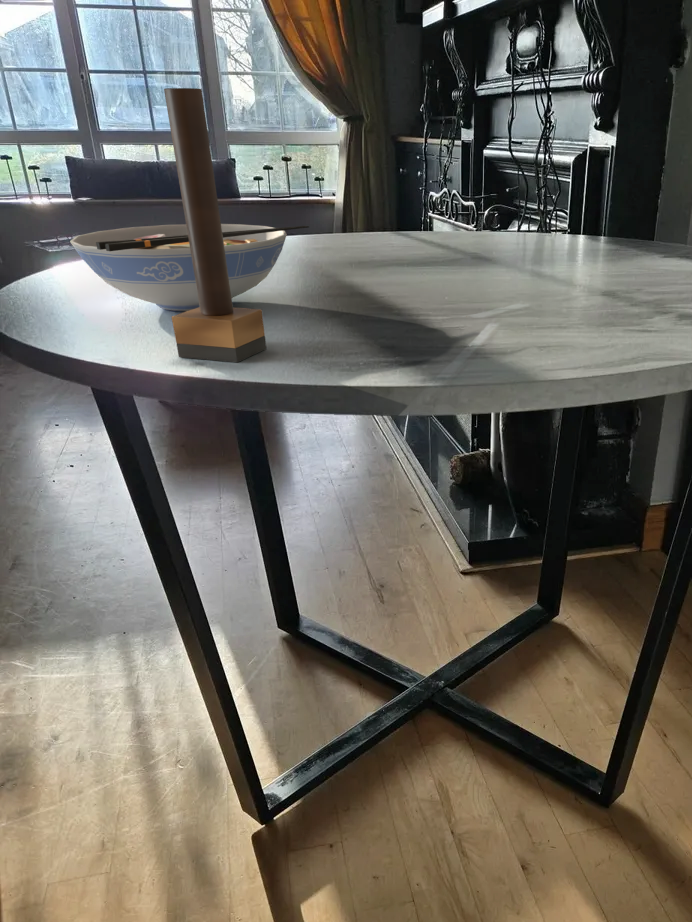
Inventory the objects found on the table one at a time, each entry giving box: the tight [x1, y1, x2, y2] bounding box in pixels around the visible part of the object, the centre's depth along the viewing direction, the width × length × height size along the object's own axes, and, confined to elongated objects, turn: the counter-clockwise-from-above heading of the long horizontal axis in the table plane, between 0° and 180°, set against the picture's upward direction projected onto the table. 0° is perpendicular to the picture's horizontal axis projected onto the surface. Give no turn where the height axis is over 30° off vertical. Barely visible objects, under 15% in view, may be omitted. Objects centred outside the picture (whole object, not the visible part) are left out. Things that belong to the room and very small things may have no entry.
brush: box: [163, 87, 267, 363], centre depth 65 cm, size 6×5×20 cm
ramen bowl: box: [69, 223, 310, 312], centre depth 87 cm, size 25×23×8 cm
